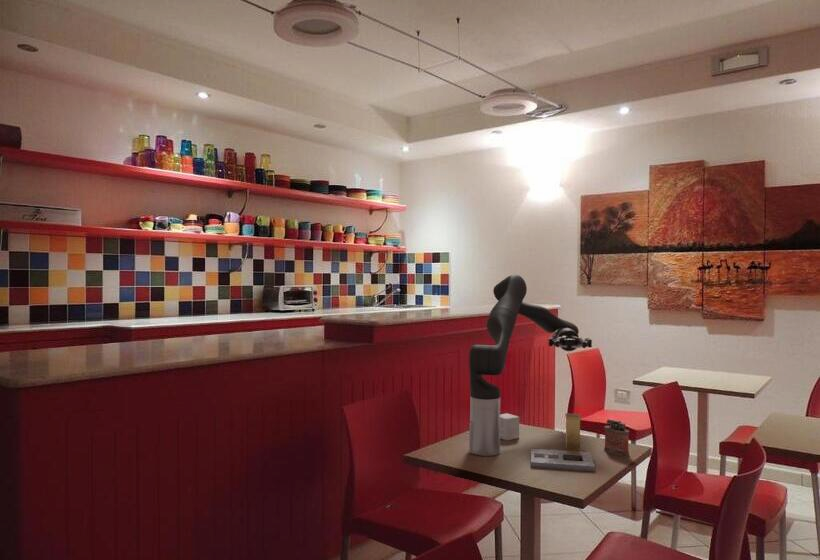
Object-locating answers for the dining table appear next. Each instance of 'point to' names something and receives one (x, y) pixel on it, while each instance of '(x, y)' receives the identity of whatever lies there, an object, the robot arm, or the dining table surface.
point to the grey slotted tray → (562, 460)
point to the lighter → (616, 438)
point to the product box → (509, 426)
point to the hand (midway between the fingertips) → (571, 344)
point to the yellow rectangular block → (573, 432)
